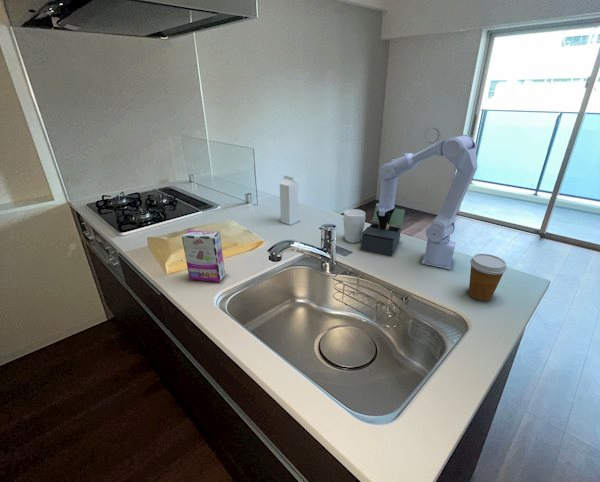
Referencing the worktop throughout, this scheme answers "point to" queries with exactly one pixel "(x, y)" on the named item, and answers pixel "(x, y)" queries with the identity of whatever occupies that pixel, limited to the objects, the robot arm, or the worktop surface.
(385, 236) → the bin
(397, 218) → the bin flap
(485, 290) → the disposable coffee cup
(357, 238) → the cup
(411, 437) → the worktop surface
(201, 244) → the candy bar box
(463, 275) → the worktop surface
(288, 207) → the milk
